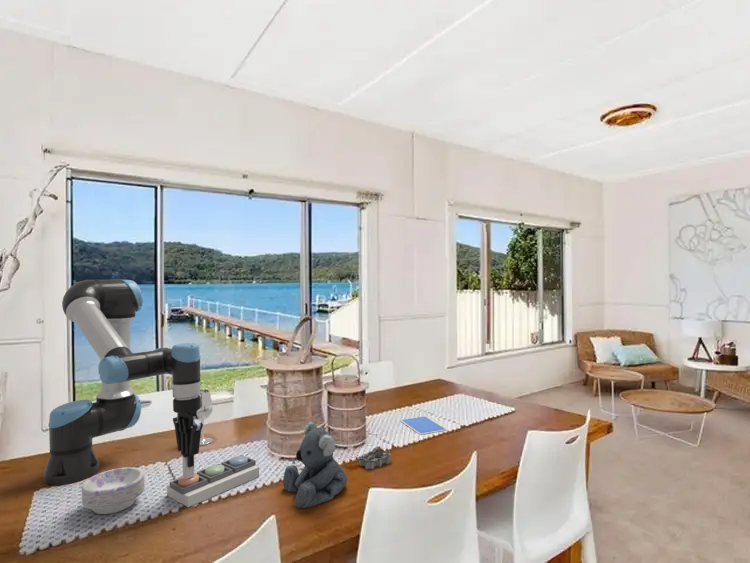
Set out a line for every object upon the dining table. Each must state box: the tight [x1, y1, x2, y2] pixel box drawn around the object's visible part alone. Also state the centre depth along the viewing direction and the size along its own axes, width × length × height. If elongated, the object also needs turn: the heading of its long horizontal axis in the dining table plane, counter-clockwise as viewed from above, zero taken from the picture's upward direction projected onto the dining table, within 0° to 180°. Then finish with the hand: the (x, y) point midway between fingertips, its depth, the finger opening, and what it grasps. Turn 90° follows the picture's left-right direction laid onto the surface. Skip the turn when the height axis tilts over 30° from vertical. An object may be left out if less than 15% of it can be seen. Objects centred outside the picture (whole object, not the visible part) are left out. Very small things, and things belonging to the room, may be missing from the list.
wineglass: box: [197, 389, 214, 446], centre depth 173 cm, size 8×8×20 cm
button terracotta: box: [177, 473, 199, 488], centre depth 128 cm, size 6×6×2 cm
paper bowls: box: [81, 466, 146, 515], centre depth 124 cm, size 15×15×8 cm
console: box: [166, 454, 260, 508], centre depth 135 cm, size 25×12×4 cm, turn 142°
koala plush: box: [282, 421, 348, 509], centre depth 130 cm, size 17×18×20 cm
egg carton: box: [357, 445, 392, 470], centre depth 149 cm, size 11×8×4 cm
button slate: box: [228, 455, 249, 467], centre depth 142 cm, size 6×6×2 cm
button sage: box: [204, 464, 224, 477], centre depth 135 cm, size 6×6×2 cm
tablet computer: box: [400, 416, 447, 436], centre depth 187 cm, size 19×13×1 cm, turn 22°
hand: (188, 476), depth 128 cm, fingers closed
